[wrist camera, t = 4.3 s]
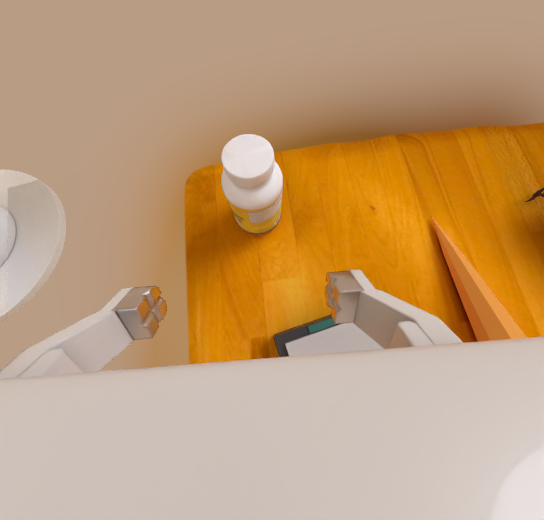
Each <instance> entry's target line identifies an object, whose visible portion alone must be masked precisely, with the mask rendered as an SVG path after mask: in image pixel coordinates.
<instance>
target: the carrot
mask: <svg viewBox="0 0 544 520" xmlns="http://www.w3.org/2000/svg"><path fill="white" fill-rule="evenodd" d="M431 217H432V216H431ZM432 220H433V223H434V226H435V229H436V232H437V235H438V239H439V242H440V245H441V248H442V251H443V254H444V257H445V259H446V262H447V265H448V267H449V270H450V272H451V275H452V277H453V280H454V282H455V285H456V288H457V290H458V293H459V295H460V298H461V300H462V303H463V306H464V308H465V311H466V313H467V316H468V318H469V321H470V323H471V326H472V329H473V331H474V334H475V336H476V339H477V341H478V342H479V341H491V340H504V339H517V338H527V337H526V336H525V334H524V333H523V332H522V330H521V329H520V328H519V326H518V325H517V324H516V322H515V321H514V320H513V318H512V317H511V316H510V315H509V313H508V312H507V311H506V309H505V308H504V307H503V305H502V304H501V303H500V301H499V300H498V299H497V297H496V296H495V295H494V294H493V292H492V291H491V290H490V288H489V287H488V286H487V284H486V283H485V282H484V280H483V279H482V278H481V277H480V275H479V274H478V273H477V271H476V270H475V269H474V267H473V266H472V265H471V263H470V262H469V261H468V259H467V258H466V257H465V256H464V254H463V253H462V252H461V250H460V249H459V248H458V247H457V246H456V244H455V243H454V242H453V241H452V240H451V239H450V237H449V236H448V235H447V234H446V233H445V232H444V230H443V229H442V228H441V227H440V226H439V224H438V223H437V222H436V221H435V220H434V219H433V217H432Z"/></svg>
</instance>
